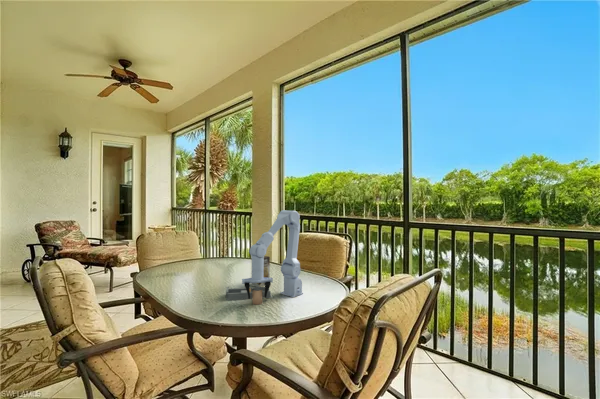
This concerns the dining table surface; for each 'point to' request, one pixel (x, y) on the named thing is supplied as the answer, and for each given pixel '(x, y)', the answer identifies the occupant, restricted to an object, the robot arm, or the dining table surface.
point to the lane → (243, 294)
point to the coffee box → (266, 271)
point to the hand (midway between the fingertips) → (257, 297)
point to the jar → (257, 295)
